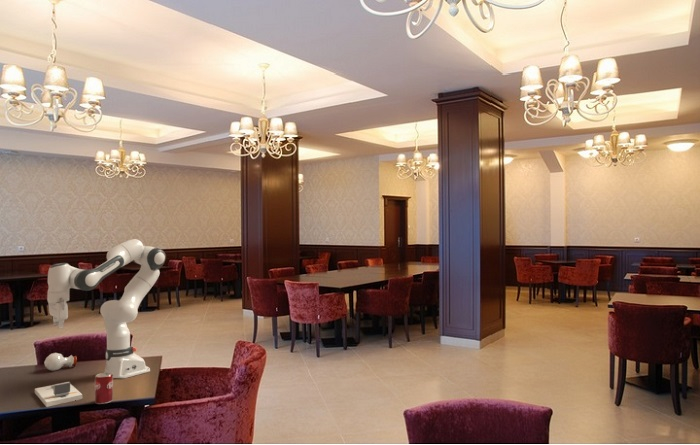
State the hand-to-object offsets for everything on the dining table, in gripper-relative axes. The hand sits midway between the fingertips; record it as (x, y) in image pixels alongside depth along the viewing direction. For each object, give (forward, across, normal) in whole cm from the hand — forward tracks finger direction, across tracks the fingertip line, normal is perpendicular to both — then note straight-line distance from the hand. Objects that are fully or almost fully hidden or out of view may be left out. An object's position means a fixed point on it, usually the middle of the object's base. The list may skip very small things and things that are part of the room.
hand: (58, 326), depth 224 cm
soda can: (+31, -28, -12) cm, 44 cm away
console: (+31, -5, +1) cm, 31 cm away
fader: (+29, -12, +1) cm, 31 cm away
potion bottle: (+31, +44, -10) cm, 55 cm away
